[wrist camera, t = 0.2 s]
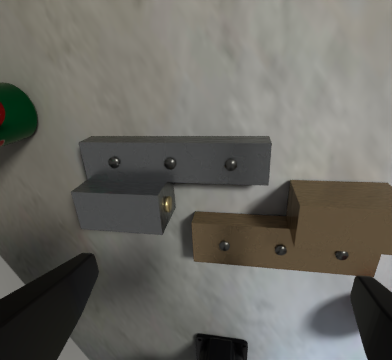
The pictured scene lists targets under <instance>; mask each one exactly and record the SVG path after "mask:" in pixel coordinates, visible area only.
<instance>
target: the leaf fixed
mask: <svg viewBox="0 0 392 360" xmlns="http://www.w3.org/2000/svg"><path fill="white" fill-rule="evenodd" d="M271 145H272V143H271V140H270V137H269V136H91V137H89V138H87V139H85V140H83V141H81V142H79V146H80V150H81V154H82V158H83V162H84V166H85V171H86V175H87V179H88V180H86V181H85V182H84V183H82V184H81V185H80V186H78V187H77V188H76V189H74V190H73V191H72V192H71V194H72V198H73V201H74V205H75V208H76V212H77V215H78V219H79V222H80V226H81V229H88V230H102V231H116V232H130V233H144V234H158V235H163V233H164V230H165V228H166V226H167V224H168V222H169V220H170V218H171V216H172V214H173V212H174V210H175V208H176V206H175V195H174V184H173V182H179V183H209V184H239V185H268V183H269V170H270V158H271Z"/></svg>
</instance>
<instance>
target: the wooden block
mask: <svg viewBox="0 0 392 360" xmlns="http://www.w3.org/2000/svg"><path fill="white" fill-rule="evenodd" d="M192 239H193V255H194V261H196V262H207V263H218V264H230V265H241V266H252V267H264V268H275V269H286V270H298V271H309V272H320V273H332V274H343V275H354V276H358V275H361V276H370V277H374V275H375V272H376V269H377V266H378V263H379V260H380V256H381V254H385V255H392V186H391V185H389V184H388V183H374V182H340V181H305V180H290V187H289V195H288V203H287V212H286V216H271V215H252V214H234V213H215V212H196V211H195V214H194V217H193V220H192Z"/></svg>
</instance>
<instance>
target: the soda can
mask: <svg viewBox="0 0 392 360" xmlns="http://www.w3.org/2000/svg"><path fill="white" fill-rule="evenodd" d="M36 126H37V112H36V109H35V106H34V104H33V103H32V101H31V100H30V98H29V97H28V96H27V95H26V94H25V93H24V92H23V91H22V90H20V89H19V88H18V87H16V86H14V85H12V84H9V83H0V147H2V146H5V145H8V144H10V143H13V142H16V141H19V140H22V139H25V138H28V137H29V136H31V135H32V134H33V133H34V131H35V129H36Z"/></svg>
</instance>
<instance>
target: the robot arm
mask: <svg viewBox="0 0 392 360" xmlns="http://www.w3.org/2000/svg"><path fill="white" fill-rule="evenodd" d="M98 274H99V270H98V266H97V262H96V259H95V256H94V254H92V253H81V254H80V255H78V256H76V257H74V258H72V259H71V260H69V261H67V262H65V263H64V264H62V265H60V266H58V267H57V268H55V269H53V270H51V271H49V272H48V273H46V274H44V275H42V276H41V277H39V278H37V279H35V280H34V281H32V282H30V283H28V284H26V285H25V286H23V287H21V288H19V289H18V290H16V291H14V292H12V293H10V294H9V295H7V296H5V297H4V298H2V299H0V360H57V359H58V357H59V355H60V353H61V351H62V350H63V347H64V346H65V344H66V342H67V340H68V338H69V337H70V335H71V333H72V331H73V329H74V328H75V326H76V324H77V322H78V320H79V318H80V316H81V314H82V312H83V310H84V308H85V305H86V303H87V301H88V298H89V296H90V294H91V291H92V289H93V287H94V284H95V282H96V280H97V277H98ZM350 298H351V304H352V307H353V311H354V315H355V318H356V322H357V325H358V329H359V333H360V336H361V340H362V343H363V347H364V350H365V353H366V356H367V359H368V360H392V292H391V291H390V290H388V289H387V288H386V287H384V286H383V285H382V284H381V283H379V282H378V281H377V280H375V279H374V278H373V277H370V276H361V275H358V276H356V277H355V279H354V283H353V287H352V291H351V295H350ZM196 350H197V360H247V351H248V343H247V341H244V340H237V339H230V338H223V337H216V336H209V335H202V334H198V335H197V336H196Z"/></svg>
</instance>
